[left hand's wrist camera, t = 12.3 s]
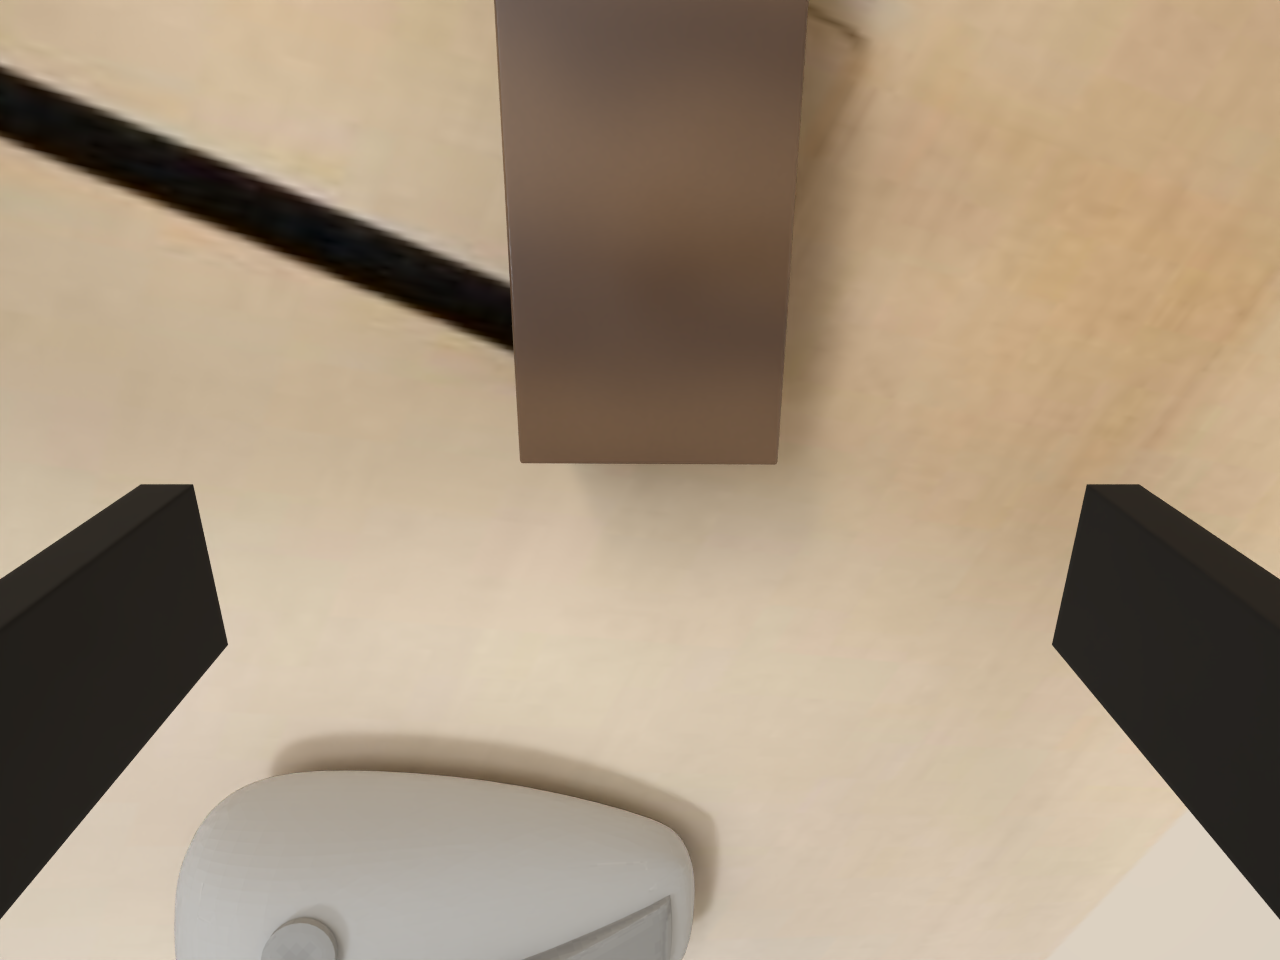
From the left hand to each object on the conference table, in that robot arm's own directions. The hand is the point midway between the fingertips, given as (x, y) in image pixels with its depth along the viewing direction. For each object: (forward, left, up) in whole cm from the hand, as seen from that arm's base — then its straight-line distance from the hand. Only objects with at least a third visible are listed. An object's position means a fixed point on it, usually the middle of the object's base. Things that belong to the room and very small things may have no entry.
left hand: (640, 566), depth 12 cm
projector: (-22, -20, -22) cm, 37 cm away
